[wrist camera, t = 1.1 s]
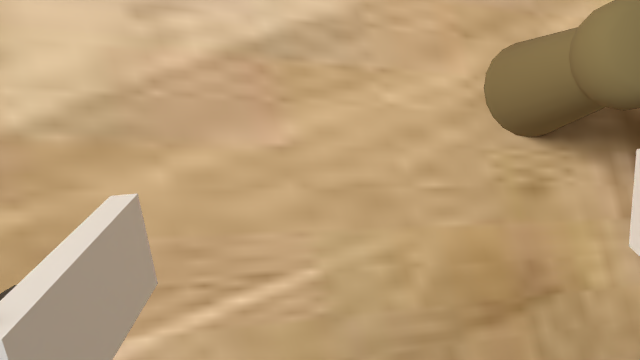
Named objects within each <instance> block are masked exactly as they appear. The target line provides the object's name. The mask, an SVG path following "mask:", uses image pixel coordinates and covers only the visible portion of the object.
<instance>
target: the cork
mask: <svg viewBox="0 0 640 360" xmlns="http://www.w3.org/2000/svg"><path fill="white" fill-rule="evenodd" d="M484 92H485V98H486V104H487V106H488V108H489V110H490V112H491V114H492V116H493V117H494V118H495V119H496V121H497V122H498V123H499V124H500V125H501V126H502V127H503V128H505V129H507V130H508V131H510V132H512V133H514V134H516V135H521V136H526V137H534V136H541V135H545V134H547V133H549V132H552V131H554V130H556V129H558V128H560V127H563V126H565V125H567V124H569V123H571V122H574V121H576V120H578V119H580V118H582V117H585V116H587V115H589V114H591V113H593V112H596V111H598V110H600V109H602V108H604V107H608V108H613V109H619V110H630V109H637V108H640V0H614V1H612V2H610V3H608V4H606V5H604V6H602V7H600V8H598V9H596V10H594V11H593V12H592V13H591V14H590V15H589V16H588V17H587V18H586V19H585V20H584V21H583V23H582V24H581V25H580V26H579V27H577V28H573V29H569V30H566V31H562V32H558V33H554V34H550V35H546V36H542V37H538V38H535V39H531V40H527V41H523V42H519V43H515V44H513V45H511V46H509V47H507V48H505V49H503V50H502V51H501V52H500V53H499V54H498V55H497V56H496V57H495V58H494V59H493V60H492V62H491V64H490V66H489V68H488V70H487V73H486V78H485V84H484Z"/></svg>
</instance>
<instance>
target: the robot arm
mask: <svg viewBox="0 0 640 360" xmlns="http://www.w3.org/2000/svg"><path fill="white" fill-rule="evenodd" d="M629 247H630V248H631V249H632V250H633V251H635V252H636V253H637V254H638V255H639V256H640V149H637V151H636V163H635V176H634V188H633V201H632V213H631V226H630V238H629ZM157 284H158V282H157V278H156V273H155V269H154V264H153V260H152V255H151V251H150V246H149V242H148V237H147V233H146V228H145V224H144V219H143V215H142V211H141V206H140V202H139V197H138V194H128V195H117V196H110V197H109V198H108V199H107V200H106V201H105V202H104V203H102V204H101V205H100V206H99V207H98V208H97V209H96V210H95V211H94V212H93V213H92V214H91V215H90V216H89V217H88V218H87V219H86V220H85V221H84V222H83V223H81V224H80V225H79V226H78V227H77V228H76V229H75V230H74V231H73V232H72V233H71V234H70V235H69V236H68V237H67V238H66V239H65V240H64V241H63V242H62V243H60V244H59V245H58V246H57V247H56V248H55V249H54V250H53V251H52V252H51V253H50V254H49V255H48V256H47V257H46V258H45V259H44V260H43V261H42V262H41V263H39V264H38V265H37V266H36V267H35V268H34V269H33V270H32V271H31V272H30V273H29V274H28V275H27V276H26V277H25V278H24V279H23V280H22V281H21V282H20V283H18V284H17V285H14V286H13V287H11V288H9V289H8V290H6V291H4V292H2V293H1V294H0V360H113V358H114V356H115V355H116V353H117V351H118V349H119V348H120V346H121V344H122V343H123V341H124V339H125V338H126V336H127V334H128V333H129V331H130V329H131V328H132V326H133V324H134V322H135V321H136V319H137V317H138V316H139V314H140V312H141V311H142V309H143V307H144V306H145V304H146V302H147V301H148V299H149V297H150V296H151V294H152V292H153V290H154V289H155V287H156V285H157Z"/></svg>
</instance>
